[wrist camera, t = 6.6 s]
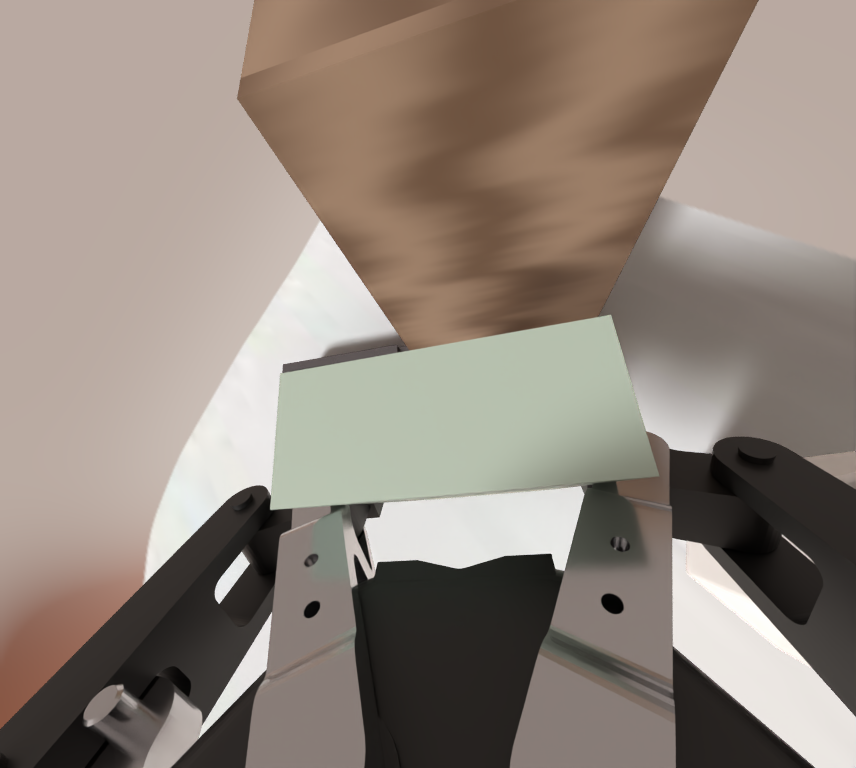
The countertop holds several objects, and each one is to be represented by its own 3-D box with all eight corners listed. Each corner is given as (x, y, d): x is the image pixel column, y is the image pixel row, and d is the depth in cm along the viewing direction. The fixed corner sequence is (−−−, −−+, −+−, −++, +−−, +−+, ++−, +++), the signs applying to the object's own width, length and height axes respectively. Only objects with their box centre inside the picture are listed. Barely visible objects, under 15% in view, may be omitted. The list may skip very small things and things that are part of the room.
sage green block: (537, 424, 19) (595, 263, 6) (550, 489, 17) (659, 475, 4) (433, 436, 20) (283, 328, 7) (438, 498, 19) (269, 509, 6)
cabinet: (564, 246, 25) (675, -238, 9) (588, 336, 23) (811, -104, 6) (412, 278, 27) (263, -56, 11) (418, 363, 25) (237, 98, 8)
